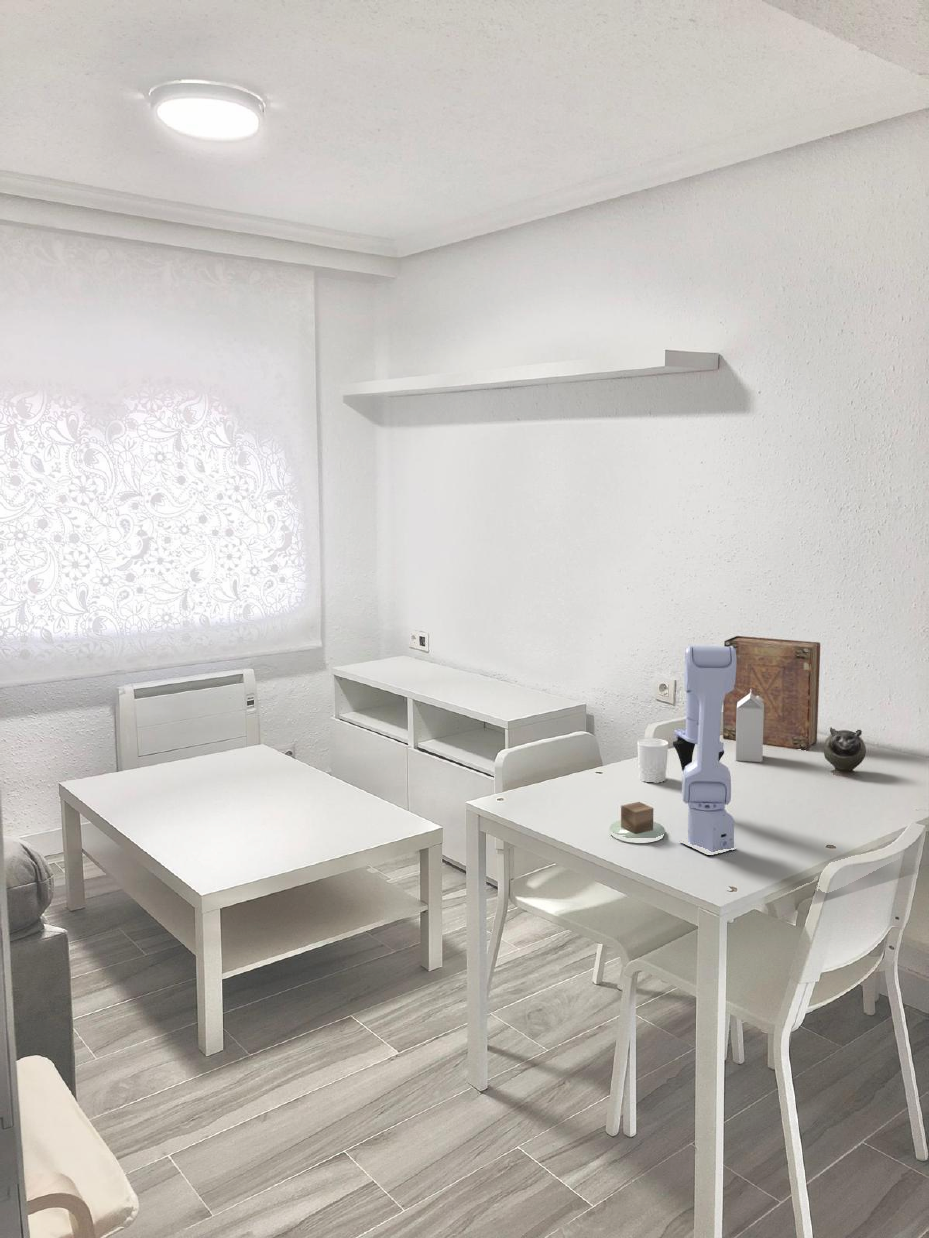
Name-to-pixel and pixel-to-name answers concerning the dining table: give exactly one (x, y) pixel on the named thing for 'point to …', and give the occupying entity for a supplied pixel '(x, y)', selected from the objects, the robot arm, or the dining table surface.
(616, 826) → the pale green domed disc
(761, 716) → the milk carton
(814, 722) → the book
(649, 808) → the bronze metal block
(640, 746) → the white cup
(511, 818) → the dining table surface
